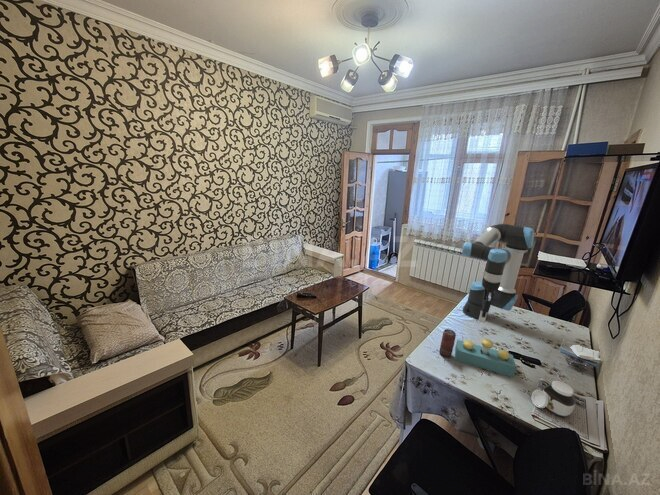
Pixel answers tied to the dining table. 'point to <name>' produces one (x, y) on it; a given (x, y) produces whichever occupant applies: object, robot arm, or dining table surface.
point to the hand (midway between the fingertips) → (481, 321)
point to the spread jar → (555, 398)
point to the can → (447, 343)
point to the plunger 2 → (503, 355)
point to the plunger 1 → (468, 345)
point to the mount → (485, 359)
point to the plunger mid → (486, 346)
